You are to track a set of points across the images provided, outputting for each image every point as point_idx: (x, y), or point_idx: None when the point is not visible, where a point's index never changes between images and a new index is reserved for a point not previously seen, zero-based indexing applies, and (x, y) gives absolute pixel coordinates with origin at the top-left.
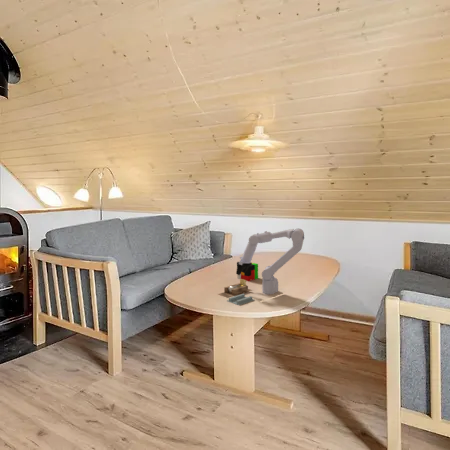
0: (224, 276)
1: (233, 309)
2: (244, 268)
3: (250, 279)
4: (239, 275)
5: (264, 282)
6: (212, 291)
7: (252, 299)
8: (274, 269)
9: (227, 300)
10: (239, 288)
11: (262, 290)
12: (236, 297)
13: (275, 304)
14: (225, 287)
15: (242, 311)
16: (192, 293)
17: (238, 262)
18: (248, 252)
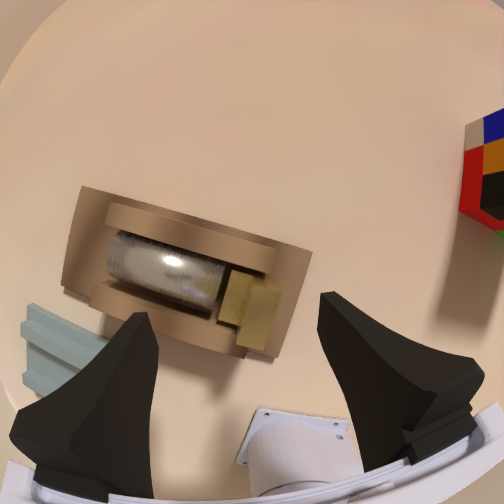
0: (444, 51)
1: (7, 367)
2: (342, 357)
3: (476, 217)
4: (478, 136)
5: (250, 491)
6: (145, 106)
7: None
8: None
9: (30, 308)
10: None
11: (265, 434)
12: (55, 353)
13: (154, 494)
14: (112, 211)
15: (18, 404)
16: (80, 54)
17: (43, 454)
18: None
